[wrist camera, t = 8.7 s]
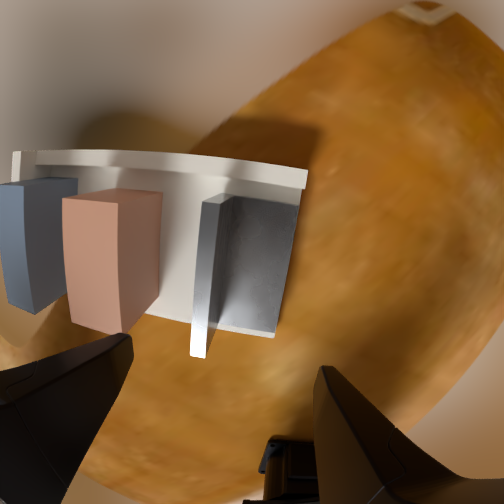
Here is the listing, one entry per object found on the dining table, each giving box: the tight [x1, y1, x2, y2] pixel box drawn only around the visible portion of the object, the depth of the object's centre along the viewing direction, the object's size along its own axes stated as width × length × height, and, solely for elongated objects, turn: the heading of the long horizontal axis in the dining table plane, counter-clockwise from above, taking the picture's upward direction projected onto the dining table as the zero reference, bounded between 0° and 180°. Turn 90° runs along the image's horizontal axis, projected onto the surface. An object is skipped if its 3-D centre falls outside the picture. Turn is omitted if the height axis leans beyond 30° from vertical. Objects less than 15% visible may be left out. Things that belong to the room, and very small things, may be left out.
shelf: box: [0, 150, 308, 338], centre depth 16 cm, size 11×19×6 cm, turn 82°
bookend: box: [190, 193, 299, 358], centre depth 16 cm, size 8×4×4 cm, turn 172°
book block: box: [62, 188, 163, 335], centre depth 16 cm, size 7×4×6 cm, turn 173°
